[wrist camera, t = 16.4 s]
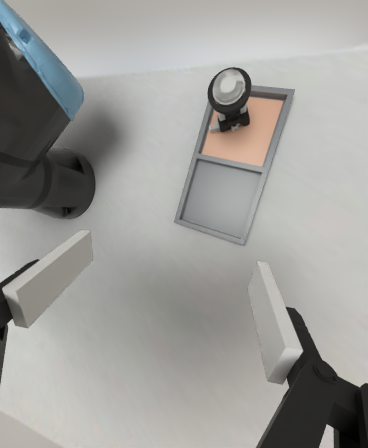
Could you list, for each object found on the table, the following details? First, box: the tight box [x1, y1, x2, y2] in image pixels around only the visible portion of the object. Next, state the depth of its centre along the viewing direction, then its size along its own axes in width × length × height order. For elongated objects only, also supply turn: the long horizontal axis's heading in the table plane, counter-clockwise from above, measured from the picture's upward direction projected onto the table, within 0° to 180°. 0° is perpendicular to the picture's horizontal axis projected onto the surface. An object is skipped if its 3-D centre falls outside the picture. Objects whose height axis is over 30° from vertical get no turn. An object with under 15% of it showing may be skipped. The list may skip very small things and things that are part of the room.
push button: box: [208, 67, 251, 133], centre depth 29 cm, size 7×5×10 cm
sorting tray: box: [174, 85, 295, 245], centre depth 34 cm, size 13×24×2 cm, turn 163°
